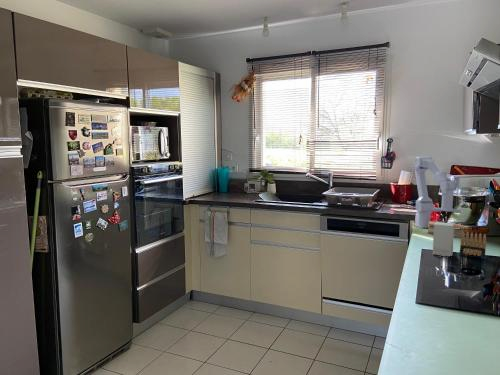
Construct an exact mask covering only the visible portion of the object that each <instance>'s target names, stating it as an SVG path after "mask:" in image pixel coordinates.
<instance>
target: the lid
mask: <svg viewBox="0 0 500 375" xmlns="http://www.w3.org/2000/svg"><path fill="white" fill-rule="evenodd" d="M436 222H438V221H435V220H430V221H429V223H428V225H432V226H434V224H435V223H436ZM441 222H442V223H444V221H441ZM447 223H449V222H447ZM452 223H453V224H454V228H462V229H464V225H463V224H462V223H458V224H455V222H452ZM461 224H462V225H461Z"/></svg>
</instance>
